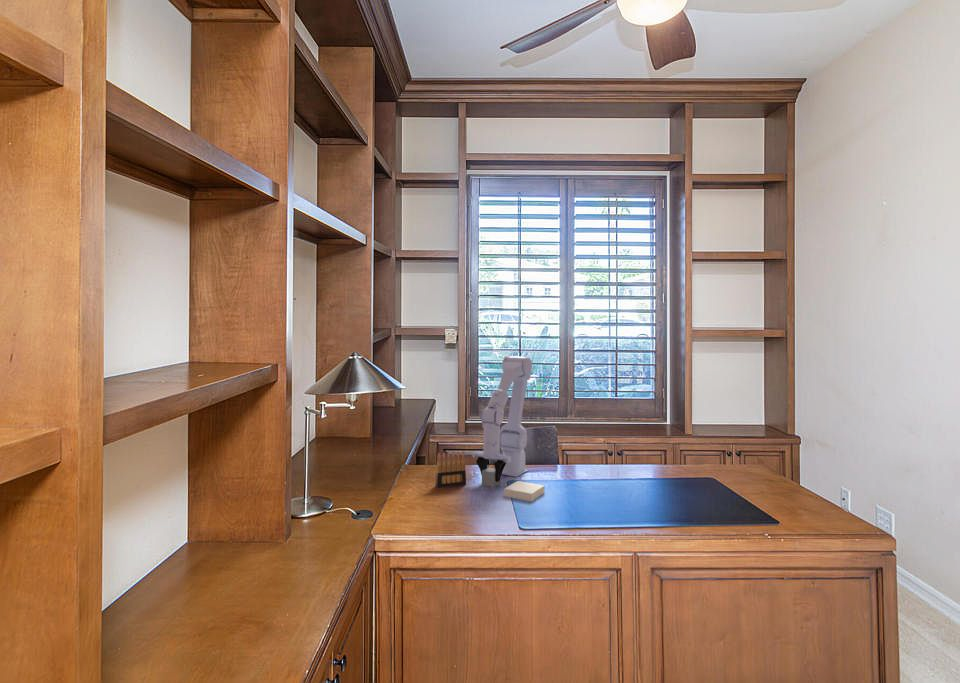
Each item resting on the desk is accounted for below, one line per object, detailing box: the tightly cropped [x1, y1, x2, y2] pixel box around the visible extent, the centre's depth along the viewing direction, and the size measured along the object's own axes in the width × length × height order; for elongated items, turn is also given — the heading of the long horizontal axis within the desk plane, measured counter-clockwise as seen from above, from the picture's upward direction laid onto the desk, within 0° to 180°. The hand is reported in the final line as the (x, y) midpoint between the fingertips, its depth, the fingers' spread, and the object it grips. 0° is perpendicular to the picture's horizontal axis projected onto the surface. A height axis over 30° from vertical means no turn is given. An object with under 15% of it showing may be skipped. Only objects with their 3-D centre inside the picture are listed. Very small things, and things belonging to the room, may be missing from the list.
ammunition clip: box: [434, 450, 467, 489], centre depth 195 cm, size 11×2×12 cm, turn 112°
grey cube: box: [481, 467, 501, 488], centre depth 197 cm, size 5×5×5 cm
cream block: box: [503, 480, 546, 502], centre depth 186 cm, size 10×10×3 cm
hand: (491, 480), depth 197 cm, fingers closed on grey cube, 5 cm apart
